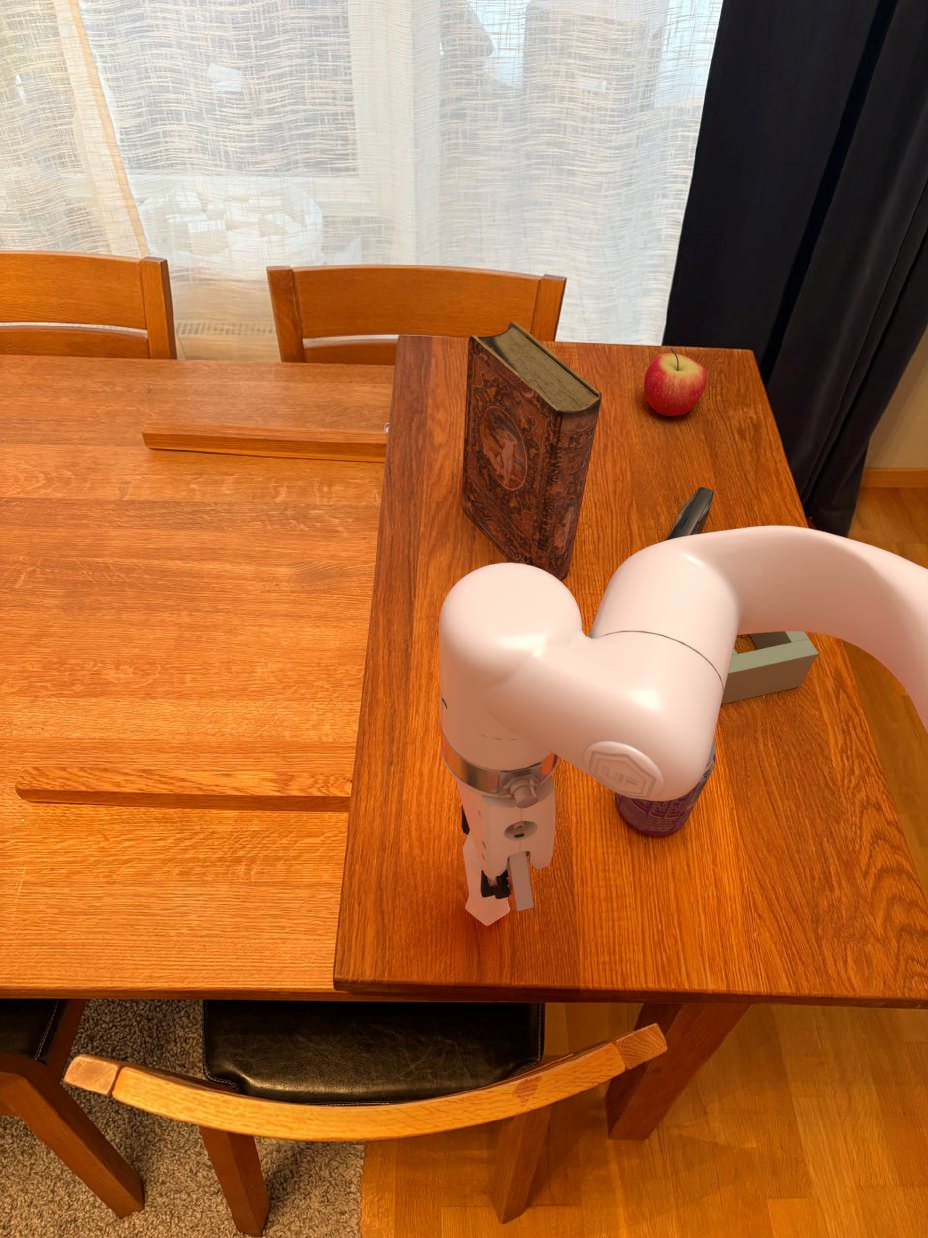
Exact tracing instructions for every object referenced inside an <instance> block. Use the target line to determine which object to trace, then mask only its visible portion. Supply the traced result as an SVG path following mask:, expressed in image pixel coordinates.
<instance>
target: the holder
mask: <svg viewBox="0 0 928 1238" xmlns="http://www.w3.org/2000/svg"><path fill="white" fill-rule="evenodd" d="M748 636H749V637H750V639H751V640H752V642H753V643H754V646H755V647H756V649H755V650H750V651H747V652H741V653H738V651H736V649H735V648H734V649H733V654H732V658H731V662H730V667H729V671H728V676H727V680H726V685H725V689H724V693H723V698H722V701H721V705H724V704H729V703H734V702H738V701H742V700H747V699H751V698H757V697H760V696H764V695H769V694H773V693H774V694H775V693H779V692H782V691H787V690H792V689H796V688H800V686H801V685H802V683H803V681H804V680H805V678H806V676H807V674H808V672H809V671H810V669H811V668H812V666H813V664H814V663H815V661H816V659H817V658H818V656H819V654H820V653H819V651H818V650H817V648H816V647H815V645H814V644H813V643H812V641H811V639H810V638H809V637H808V635H807V632H798V631H780V632H766V633H753V634H748Z"/></svg>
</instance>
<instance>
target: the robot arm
mask: <svg viewBox="0 0 928 1238" xmlns="http://www.w3.org/2000/svg"><path fill="white" fill-rule="evenodd" d="M589 631H590V632H589V633H588V636H587V635H586V634H585V633H584V631H583V621H582V615H581V610H580V608H579V605H578V603H577V601H576V598H575V597H574V595H573V594H572V593H571V591H570V589H569V588H568V587H567V586H566V585H565V584H564V583H563V582H562V581H559V580H558V579H557V578H555V577H554V576H553V575H551V574H549V573H548V572H546V571H544V570H542V569H539V568H536V567H534V566H530V565H526V564H520V563H511V562H499V563H493V564H487V565H484V566H482V567H479V568H477V569H475V570H473V571H471V572H469V573H468V574H466V575H464V576H463V577H462V578H460V579H459V580H458V581H457V582H456V583H455V584H454V585H453V586H452V588H451V589H449V592H448V593H447V594H446V597H445V598H444V601H443V603H442V606H441V608H440V611H439V618H438V670H439V672H438V673H439V676H438V677H439V717H440V718H439V719H440V721H439V723H440V753H441V757H442V760H443V763H444V766H445V767H446V769H447V771H448V773H449V774H450V775H451V776H452V777H453V779H454V780H455V782H456V787H457V791H458V795H459V798H460V802H461V824H460V825H461V830H462V833H463V834H465V835H467V836H468V834H469V832H471V835H472V838H473V841H474V844H475V847H476V850H477V853H478V856H479V860H480V863H481V866H482V868H483V870H482V871H481V886H480V891H481V895H482V897H483V898H486V897H490V896H494V895H495V898H496V899H503V898H507V897H508V898H509V901H510V903H511V905H512V907H513V909H514V911H515V912H516V914H517V913H521V912H525V911H528V910H533V909H535V904H534V903H535V902H534V897H533V890H532V883H531V877H530V876H531V875H530V870H529V865H530V866H531V867H532V868H534V870H537V871H538V870H541V869H544V868H546V867H549V865H550V864H551V862H552V859H553V853H554V845H555V834H556V817H557V814H556V812H557V811H556V807H557V806H556V794H555V787H554V779H553V775H552V774H553V773H554V772H555V770H556V767H557V765H558V763H559V758H560V759H562V760H564V761H565V762H566V763H568V764H570V765H571V766H573V767H575V768H576V769H578V770H580V771H581V772H583V773H585V774H586V775H588V776H590V777H591V778H593V779H594V780H596V781H597V782H598V783H599V784H600V785H602V786H603V787H605V788H606V789H608V790H610V791H612V792H614V793H615V794H616V793H618V794H621V795H623V796H626V797H631V798H636V799H644V800H650V801H668V800H674V799H677V798H680V797H682V796H684V795H685V794H687V793H689V792H690V791H691V790H692V789H693V788H694V787H695V786H696V785H697V784H698V782H699V781H700V779H701V777H702V775H703V773H704V771H705V769H706V766H707V763H708V760H709V756H710V752H711V748H712V743H713V739H715V734H716V728H717V725H718V719H719V716H720V715H719V714H720V710H721V705H722V704H721V701H722V698H723V693H724V689H725V685H726V680H727V676H728V671H729V667H730V662H731V658H732V654H733V649H735V644H736V641H737V637H738V636H742V635H749V634H753V633H766V632H780V631H798V632H805V633H812V634H818V635H824V636H827V637H831V638H836V639H838V640H842V641H844V642H846V643H849V644H851V645H853V646H855V647H857V648H859V649H860V650H862V651H864V652H865V653H867V654H868V655H869V656H872V657H873V658H874V659H875V660H877V661H878V663H880V664H881V665H882V666H883V667H885V669H887V670H888V671H889V672H890V673H891V674H892V675H893V677H894V678H895V679H896V680H897V681H898V682H899V683H900V685H901V687H902V688H903V690H904V691H905V692H906V694H907V695H908V697H909V699H910V701H911V702H912V705H913V706H914V708H915V711H916V713H917V715H918V717H919V719H920V722H921V723H922V726H923V728H924V730H925V732H926V734H927V735H928V568H925V567H923V566H921V565H919V564H917V563H915V562H913V561H910V560H908V559H906V558H905V557H902V556H900V555H897V554H896V553H893V552H891V551H888V550H886V549H882V548H880V547H877V546H874V545H872V544H868V543H864V542H862V541H858V540H855V539H851V538H849V537H848V538H847V537H845V536H840V535H838V534H833V533H830V532H826V531H822V530H817V529H813V528H808V527H801V526H795V525H777V524H776V525H775V524H774V525H773V524H772V525H761V526H760V525H759V526H748V527H740V528H734V529H725V530H719V531H711V532H704V533H700V534H696V535H690V536H684V537H679V538H675V539H670V540H667V541H666V540H663V541H661V542H658V543H654V544H651V545H648V546H646V547H644V548H643V549H640V550H639V551H637V552H635V553H633V554H632V555H630V556H629V557H627V559H625V560H624V561H623V562H622V563H621V564H620V565H619V566H618V567H617V569H616V570H614V573H613V574H612V576H611V577H610V579H609V581H608V584H607V586H606V588H605V591H604V593H603V595H602V598H601V600H600V604H599V606H598V608H597V611H596V614H595V617H594V620H593V623H592V625H591V628H590V630H589Z"/></svg>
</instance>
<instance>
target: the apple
mask: <svg viewBox="0 0 928 1238" xmlns="http://www.w3.org/2000/svg"><path fill="white" fill-rule="evenodd" d="M669 351H671V352H664V353H660V354H658V355H657V356H655V358H653V360H652V361H651V362H650V363H649V365H648V367H647V368H646V372H645V375H644V378H643V391H644V396H645V399H646V401H647V403H648V404H649V406H650V407H651V408H652V409H653V410H654V411H655V412H656V413H658V414H659V415H662V416H665V417H679V416H683V415H685V414H687V413H688V412H690V411H691V410H692V409H693V408H694V407H695V406H696V405H697V404H698V402H699V401H700V400H701V398H702V396H703V394H704V392H705V390H706V386H707V382H708V374H707V370H706V369H705V367H704V366H703V365H702V364H700V363H699V362H698V361H696V360H694V359H692V358H691V357H688V356H686V355H684V354H680V353H676V351H675V350H674V348H673V347H669Z"/></svg>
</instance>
